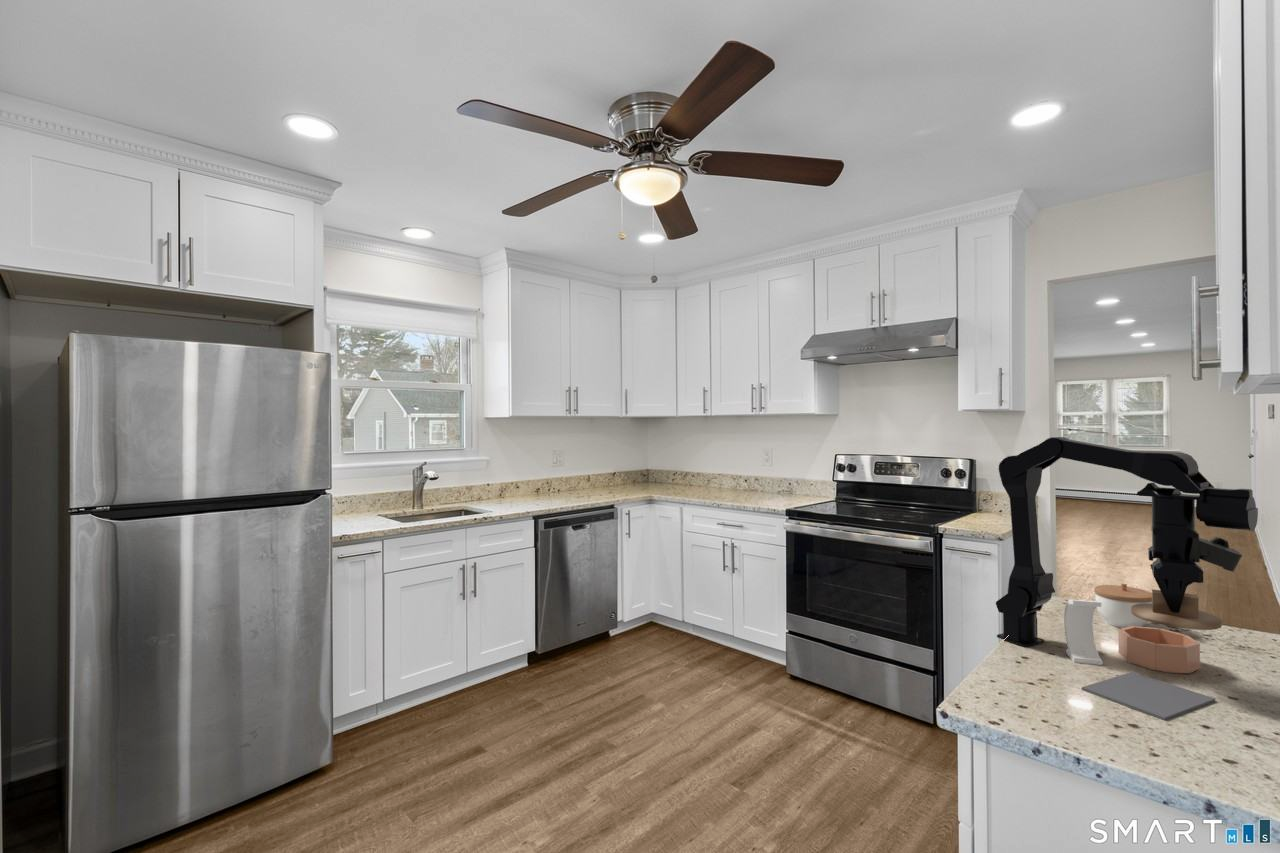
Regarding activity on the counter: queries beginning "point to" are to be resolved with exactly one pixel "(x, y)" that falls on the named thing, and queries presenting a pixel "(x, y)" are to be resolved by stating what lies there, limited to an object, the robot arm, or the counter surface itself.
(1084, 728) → the counter surface
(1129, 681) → the mat
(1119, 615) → the lidded jar
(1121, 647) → the bowl
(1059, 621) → the counter surface
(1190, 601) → the lid
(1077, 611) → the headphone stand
